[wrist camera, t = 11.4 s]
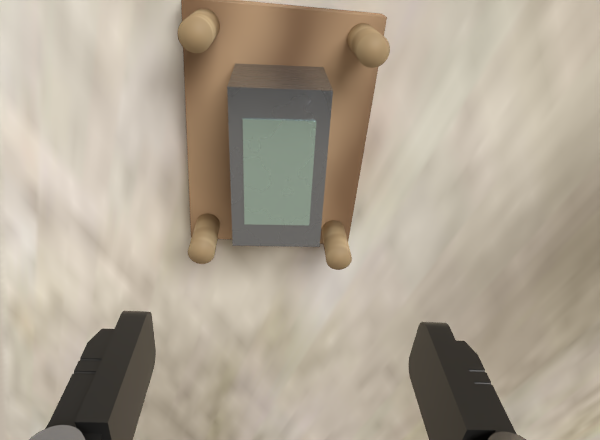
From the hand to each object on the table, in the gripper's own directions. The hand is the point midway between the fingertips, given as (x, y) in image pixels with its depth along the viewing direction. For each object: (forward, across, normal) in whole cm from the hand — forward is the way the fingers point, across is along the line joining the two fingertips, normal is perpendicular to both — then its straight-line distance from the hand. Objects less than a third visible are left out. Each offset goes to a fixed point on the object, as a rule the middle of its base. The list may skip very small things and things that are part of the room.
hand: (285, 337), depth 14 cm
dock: (+18, 0, 0) cm, 18 cm away
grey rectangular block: (+17, 0, 0) cm, 17 cm away
